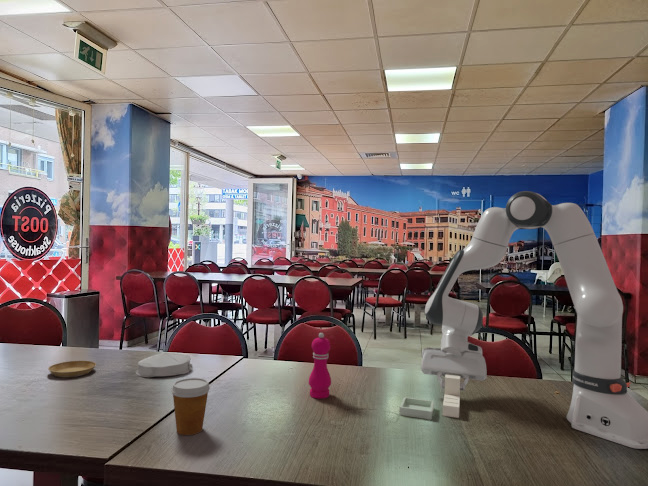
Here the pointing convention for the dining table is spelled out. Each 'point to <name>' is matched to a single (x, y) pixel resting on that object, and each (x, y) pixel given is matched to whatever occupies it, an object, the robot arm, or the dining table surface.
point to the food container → (164, 365)
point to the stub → (452, 384)
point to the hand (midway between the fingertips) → (452, 388)
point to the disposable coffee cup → (190, 404)
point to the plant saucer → (72, 368)
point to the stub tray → (417, 408)
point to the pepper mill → (320, 368)
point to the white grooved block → (451, 405)
